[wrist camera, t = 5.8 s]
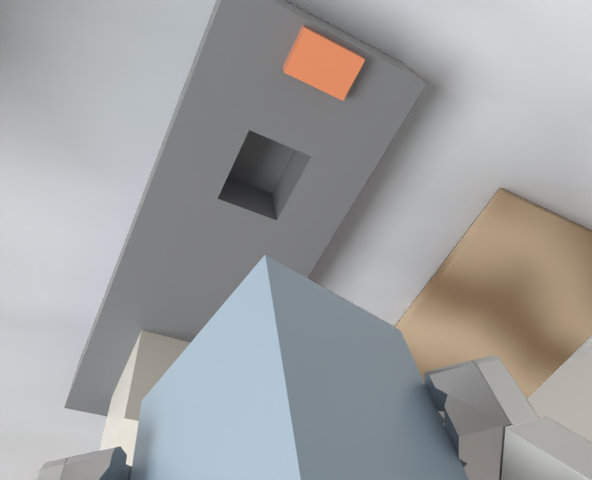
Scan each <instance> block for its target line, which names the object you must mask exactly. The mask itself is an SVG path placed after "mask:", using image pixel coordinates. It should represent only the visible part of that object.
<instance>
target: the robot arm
mask: <svg viewBox="0 0 592 480" xmlns="http://www.w3.org/2000/svg"><path fill="white" fill-rule="evenodd" d="M424 383H425V386H426V388H427V390H428V392H429V395H430V397H431V399H432V401H433V404H434V406H435V408H436V410H437V411H438V413H439V415H440V418H441V420H442V422H443V424H444V426H445V430H446V432H447V434H448V436H449V438H450V440H451V443H452V445H453V447H454V449H455V451H456V453H457V455H458V458H459V459H460V461H461V463H462V466H463V468H464V470H465V472H466V474H467V477H468V479H469V480H592V442H591V441H589V440H587V439H585V438H584V437H582V436H580V435H578V434H577V433H575V432H573V431H571V430H570V429H568V428H566V427H564V426H562V425H560V424H559V423H557V422H555V421H553V420H552V419H550V418H548V417H544V418H539V416H538V415H537V413H536V412H535V410H534V409H533V407H532V406H531V404H530V403H529V401H528V400H527V398H526V397H525V395H524V394H523V392H522V391H521V389H520V388H519V386H518V385H517V383H516V382H515V380H514V379H513V377H512V376H511V374H510V373H509V371H508V370H507V368H506V367H505V365H504V364H503V362H502V361H501V359H500V358H499V357H497V356H496V355H492V356H487V357H483V358H479V359H475V360H472V361H470V360H469V361H465V362H461V363H457V364H453V365H449V366H445V367H441V368H438V369H434V370H430V371H426V372H425V374H424ZM126 460H127V454H126V453H125V452H124V450H123V449H122V447H121V446H120V447H115V448H110V449H105V450H101V451H96V452H91V453H87V454H82V455H77V456H73V457H68V458H64V459H59V460H55V461H51V462H46V463H45V464H44V465H43V467H42V468H41V469H40V471H39V473H38V477H37V480H130V477H131V470H132V466H129V465H127V464H126Z"/></svg>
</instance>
